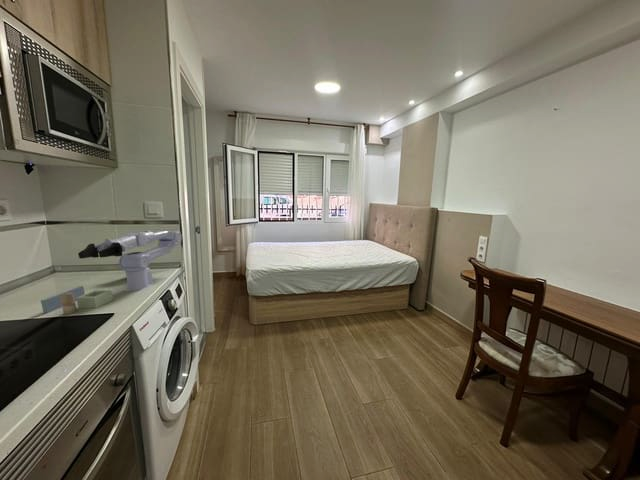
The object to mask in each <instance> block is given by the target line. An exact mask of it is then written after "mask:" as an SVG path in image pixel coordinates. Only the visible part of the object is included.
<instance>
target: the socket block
mask: <svg viewBox="0 0 640 480" xmlns="http://www.w3.org/2000/svg"><path fill="white" fill-rule="evenodd" d="M76 299H77V301H76V303H77V308H80V309H85V308H86V309H97V308H100V307H101V306H104V305H106V304H107V303H110V302H111V301H113V300H114V297H113V292H112V290H109V289H106V290H105V289H104V290H103V289H99V290H97V289H96V290H91V291H89V292H87V293H85V294H84V295H82V296H79V297H77V298H76Z"/></svg>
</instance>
